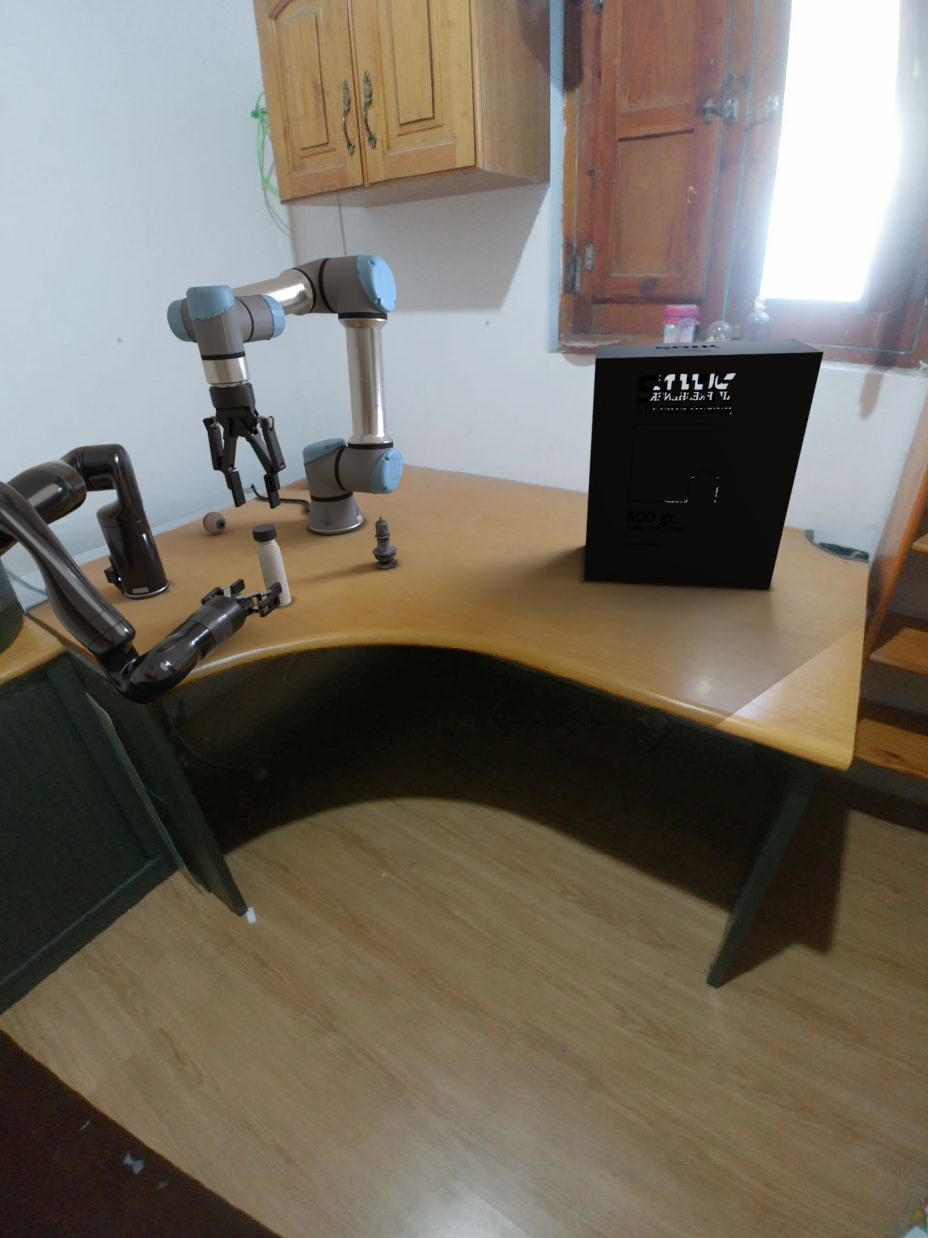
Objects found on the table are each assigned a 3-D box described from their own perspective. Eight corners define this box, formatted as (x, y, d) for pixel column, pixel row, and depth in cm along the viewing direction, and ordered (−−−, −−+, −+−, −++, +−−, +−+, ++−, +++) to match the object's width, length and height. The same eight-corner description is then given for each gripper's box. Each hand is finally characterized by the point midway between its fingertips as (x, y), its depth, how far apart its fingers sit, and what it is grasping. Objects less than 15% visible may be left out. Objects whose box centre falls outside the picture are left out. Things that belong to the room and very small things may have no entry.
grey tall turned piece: (394, 569, 142) (388, 521, 136) (370, 568, 143) (363, 520, 137) (401, 559, 147) (396, 512, 141) (378, 558, 148) (372, 511, 142)
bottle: (295, 600, 131) (279, 528, 122) (277, 609, 128) (260, 535, 119) (283, 595, 133) (266, 523, 125) (265, 603, 130) (247, 530, 122)
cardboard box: (750, 549, 141) (792, 338, 119) (769, 589, 124) (823, 351, 101) (586, 544, 149) (597, 345, 126) (583, 580, 132) (595, 358, 109)
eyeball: (216, 538, 165) (210, 517, 162) (201, 534, 168) (195, 514, 165) (233, 531, 169) (228, 510, 166) (219, 527, 172) (213, 507, 169)
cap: (281, 536, 123) (279, 526, 122) (262, 543, 120) (259, 533, 119) (268, 532, 126) (266, 522, 125) (249, 539, 123) (247, 528, 122)
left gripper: (242, 609, 106) (288, 570, 119) (174, 603, 110) (226, 565, 123) (252, 645, 110) (295, 603, 123) (185, 638, 113) (235, 597, 127)
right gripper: (290, 379, 109) (312, 501, 120) (194, 380, 114) (225, 497, 125) (268, 386, 103) (294, 514, 114) (168, 387, 108) (203, 510, 119)
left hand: (260, 584), depth 123 cm, fingers open, 8 cm apart
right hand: (258, 505), depth 120 cm, fingers open, 7 cm apart
